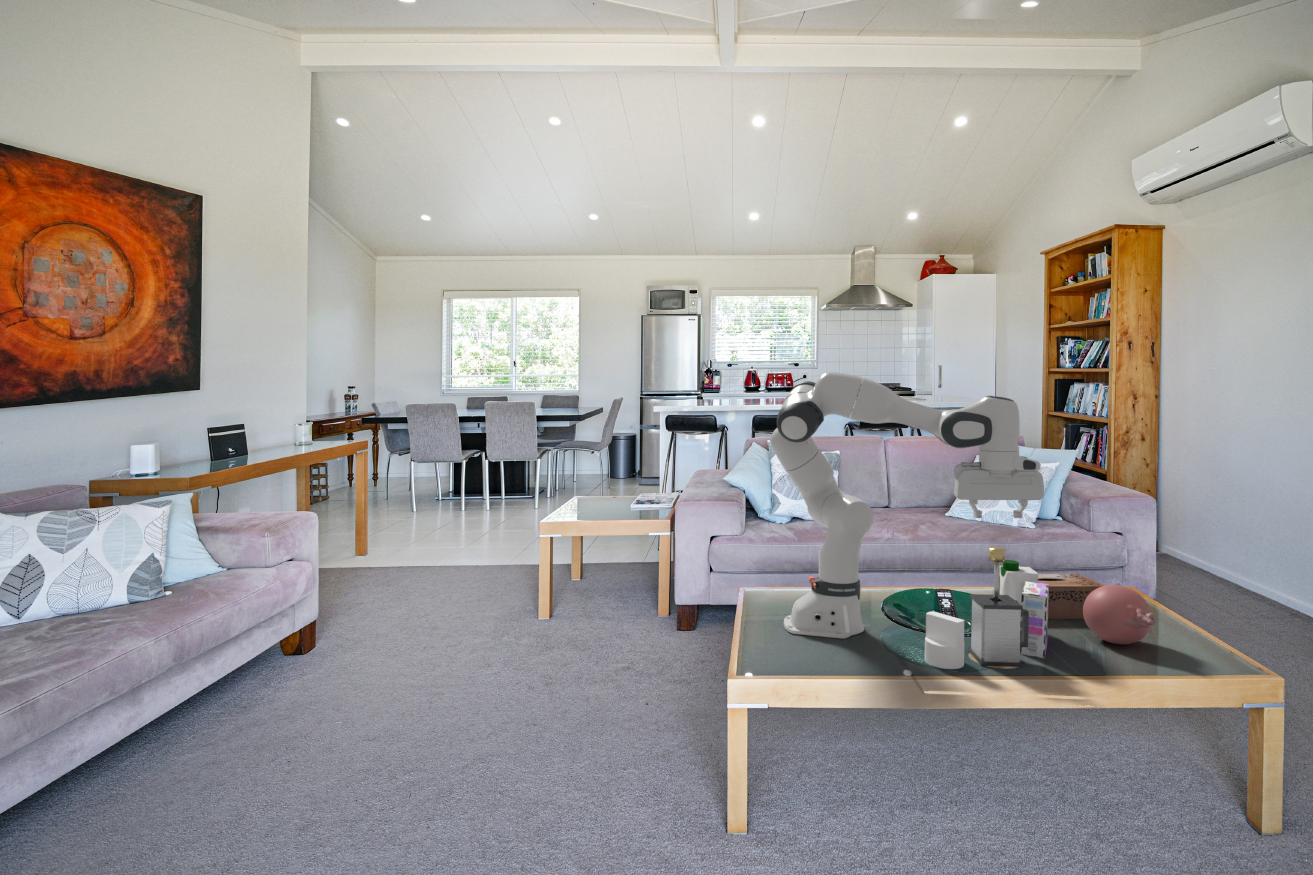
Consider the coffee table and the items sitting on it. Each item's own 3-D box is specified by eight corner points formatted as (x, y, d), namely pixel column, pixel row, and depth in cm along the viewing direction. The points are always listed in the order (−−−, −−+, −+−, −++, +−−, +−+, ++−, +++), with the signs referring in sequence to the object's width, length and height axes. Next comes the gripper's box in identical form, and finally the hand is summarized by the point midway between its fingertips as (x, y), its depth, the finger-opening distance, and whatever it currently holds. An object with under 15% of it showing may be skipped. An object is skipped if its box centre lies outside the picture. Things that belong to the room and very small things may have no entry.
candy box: (1045, 660, 171) (1047, 596, 170) (1019, 656, 174) (1020, 592, 173) (1048, 643, 183) (1049, 582, 182) (1023, 639, 186) (1024, 579, 185)
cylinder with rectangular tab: (971, 665, 168) (972, 617, 168) (950, 674, 163) (951, 625, 162) (938, 654, 176) (939, 608, 175) (917, 662, 171) (917, 615, 170)
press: (981, 665, 167) (982, 605, 166) (968, 651, 176) (969, 593, 175) (1034, 667, 165) (1036, 606, 164) (1018, 652, 175) (1019, 594, 174)
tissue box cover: (1077, 604, 217) (1078, 573, 216) (1105, 619, 202) (1106, 586, 202) (994, 604, 218) (995, 573, 217) (1016, 619, 203) (1017, 586, 203)
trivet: (977, 669, 166) (978, 667, 166) (961, 651, 178) (961, 649, 178) (1030, 671, 164) (1030, 669, 164) (1010, 652, 176) (1010, 650, 176)
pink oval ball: (1117, 660, 171) (1119, 599, 170) (1069, 632, 191) (1071, 578, 190) (1179, 660, 171) (1181, 599, 170) (1125, 632, 191) (1127, 578, 190)
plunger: (987, 618, 168) (988, 551, 167) (978, 611, 174) (979, 545, 173) (1013, 619, 167) (1014, 551, 166) (1003, 611, 173) (1004, 546, 172)
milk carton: (995, 626, 196) (997, 557, 195) (1029, 628, 195) (1031, 558, 193) (1004, 637, 188) (1006, 565, 187) (1040, 639, 186) (1042, 566, 185)
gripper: (958, 463, 166) (957, 519, 167) (1047, 463, 164) (1046, 520, 165) (950, 460, 172) (949, 515, 173) (1036, 460, 170) (1035, 515, 171)
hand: (997, 517), depth 169 cm, fingers open, 8 cm apart
